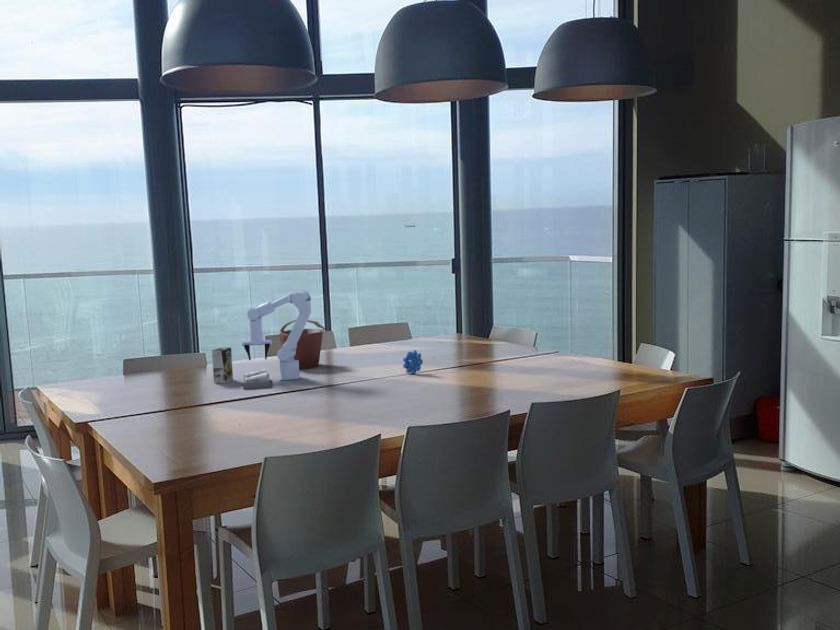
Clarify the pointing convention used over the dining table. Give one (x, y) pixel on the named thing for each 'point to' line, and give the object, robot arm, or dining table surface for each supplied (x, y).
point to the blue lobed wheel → (412, 362)
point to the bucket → (306, 345)
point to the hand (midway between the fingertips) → (257, 359)
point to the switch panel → (256, 382)
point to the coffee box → (222, 365)
